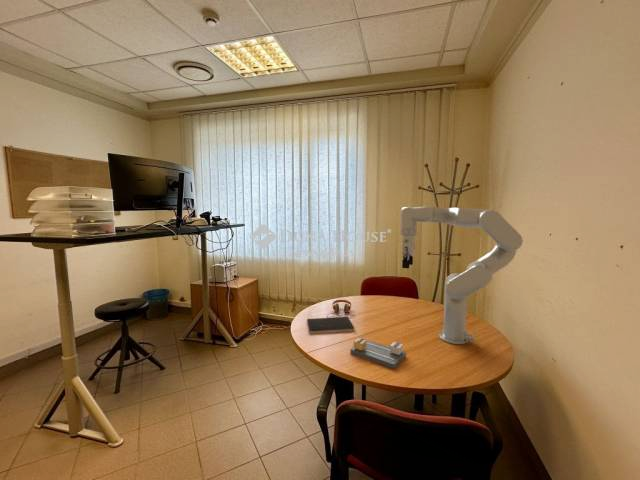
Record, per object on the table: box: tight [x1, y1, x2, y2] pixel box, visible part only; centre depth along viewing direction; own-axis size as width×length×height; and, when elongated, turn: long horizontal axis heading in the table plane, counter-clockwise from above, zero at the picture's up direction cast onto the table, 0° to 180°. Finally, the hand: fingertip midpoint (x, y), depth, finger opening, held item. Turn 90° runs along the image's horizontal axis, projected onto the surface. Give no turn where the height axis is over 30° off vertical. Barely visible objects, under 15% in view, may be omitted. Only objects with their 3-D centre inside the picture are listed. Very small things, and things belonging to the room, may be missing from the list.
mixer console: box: [350, 338, 407, 370], centre depth 121 cm, size 20×12×2 cm, turn 52°
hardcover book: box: [306, 316, 355, 335], centre depth 152 cm, size 16×23×2 cm
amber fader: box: [353, 337, 368, 351], centre depth 123 cm, size 4×4×4 cm
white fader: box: [389, 341, 404, 355], centre depth 119 cm, size 4×4×4 cm
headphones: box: [326, 299, 356, 319], centre depth 171 cm, size 17×5×20 cm
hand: (407, 266), depth 142 cm, fingers open, 9 cm apart
